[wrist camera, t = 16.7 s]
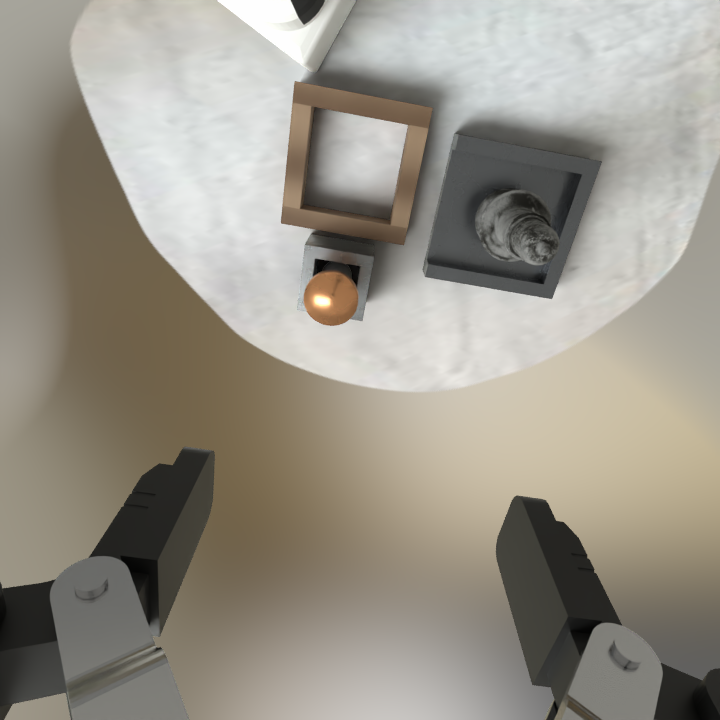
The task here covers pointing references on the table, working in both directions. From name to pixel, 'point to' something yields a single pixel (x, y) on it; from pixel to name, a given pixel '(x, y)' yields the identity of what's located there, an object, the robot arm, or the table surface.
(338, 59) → the table surface
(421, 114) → the socket collar
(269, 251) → the table surface
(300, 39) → the medicine bottle
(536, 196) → the dark grey chess piece
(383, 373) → the table surface
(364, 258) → the housing
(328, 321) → the copper mushroom knob
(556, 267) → the tray
